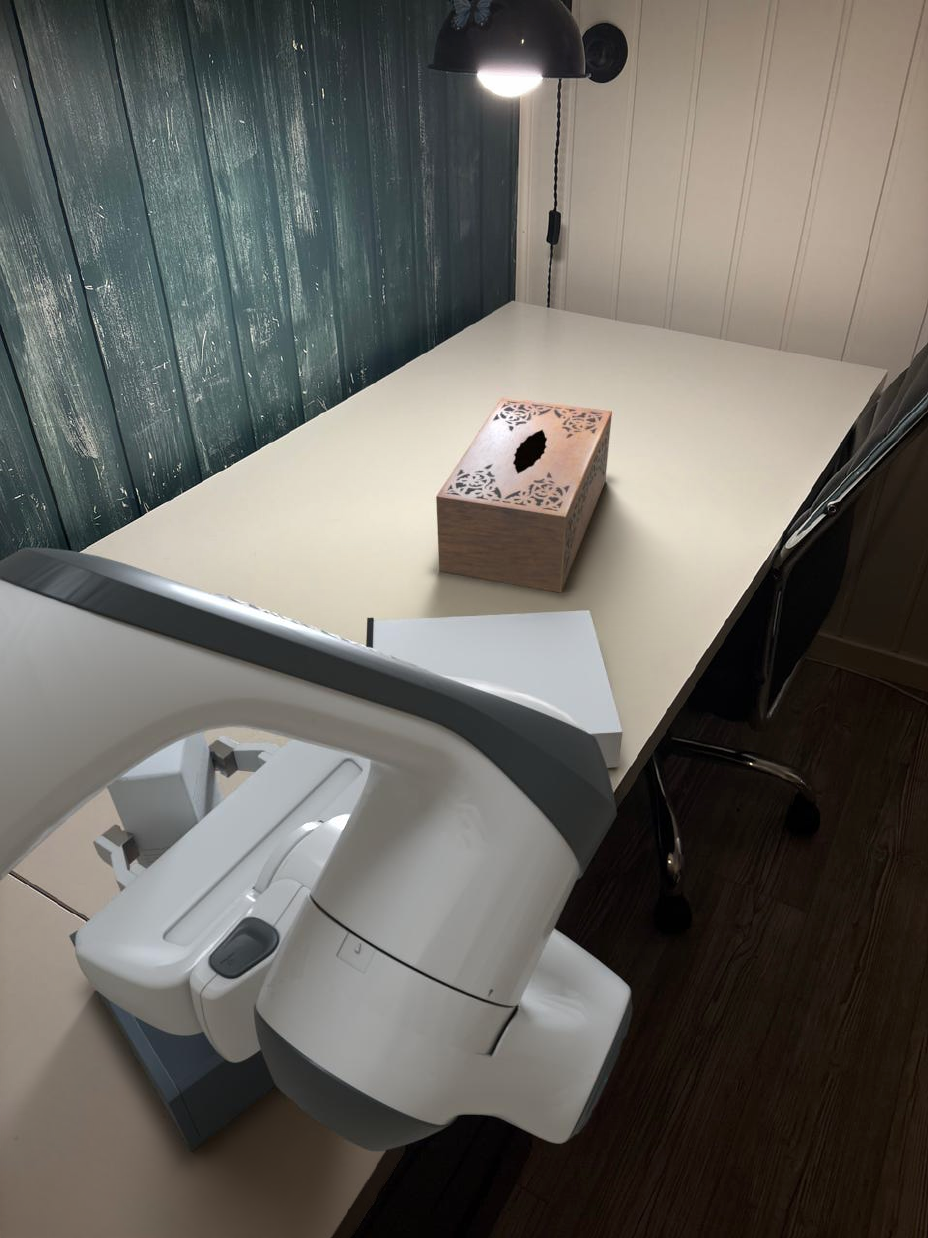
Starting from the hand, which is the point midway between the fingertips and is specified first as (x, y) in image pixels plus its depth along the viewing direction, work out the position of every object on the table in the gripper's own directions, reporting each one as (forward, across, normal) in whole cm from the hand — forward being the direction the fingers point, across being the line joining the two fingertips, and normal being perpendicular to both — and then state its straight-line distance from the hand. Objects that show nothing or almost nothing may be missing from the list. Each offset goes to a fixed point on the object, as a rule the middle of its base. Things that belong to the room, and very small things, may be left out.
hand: (161, 793), depth 55 cm
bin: (-2, +1, +20) cm, 20 cm away
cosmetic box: (-1, 0, +7) cm, 7 cm away
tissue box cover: (+12, -64, +20) cm, 68 cm away
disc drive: (-1, -34, +20) cm, 39 cm away
